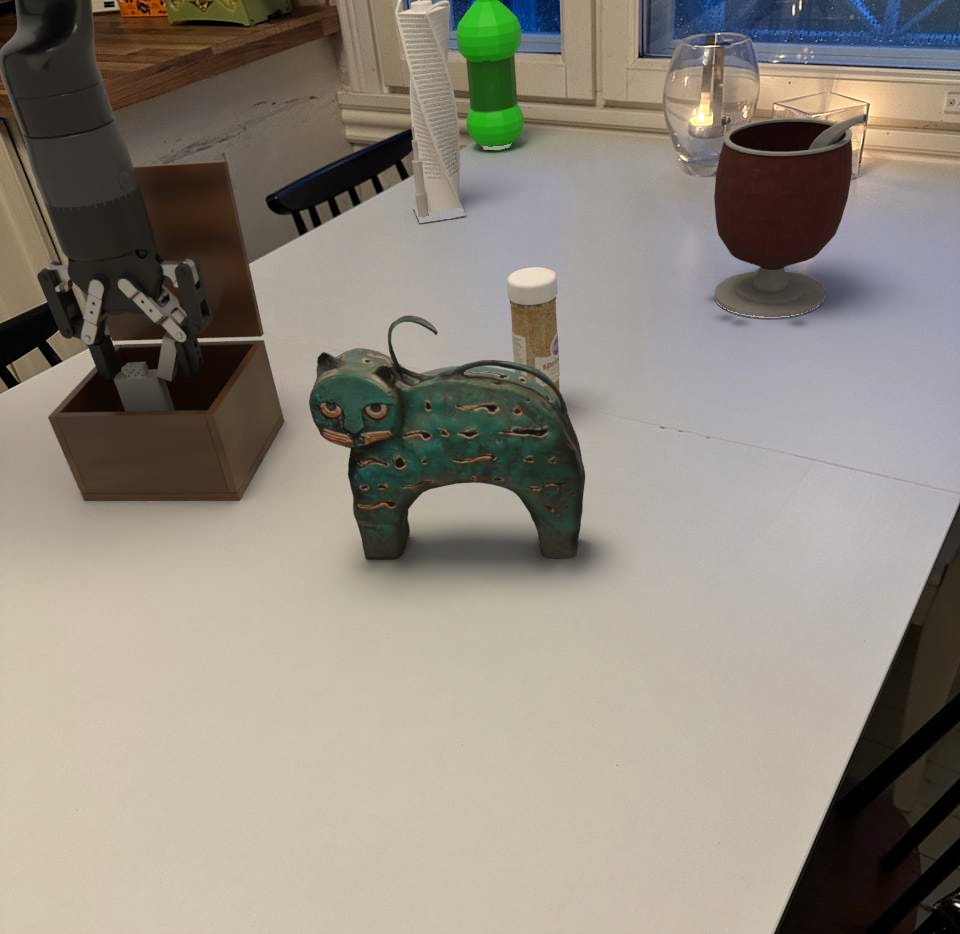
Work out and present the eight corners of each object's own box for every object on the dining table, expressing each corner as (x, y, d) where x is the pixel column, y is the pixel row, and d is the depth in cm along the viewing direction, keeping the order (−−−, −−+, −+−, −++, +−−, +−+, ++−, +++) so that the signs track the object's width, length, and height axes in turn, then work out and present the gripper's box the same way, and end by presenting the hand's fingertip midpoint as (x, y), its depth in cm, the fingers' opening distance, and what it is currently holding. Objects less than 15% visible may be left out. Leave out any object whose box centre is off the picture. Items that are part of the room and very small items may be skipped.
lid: (223, 161, 83) (226, 159, 84) (58, 171, 86) (63, 169, 86) (261, 336, 92) (264, 333, 93) (111, 341, 95) (115, 338, 95)
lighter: (128, 422, 90) (98, 341, 85) (134, 413, 91) (105, 333, 86) (201, 418, 89) (175, 336, 84) (206, 409, 91) (181, 328, 85)
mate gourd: (682, 302, 112) (692, 111, 98) (755, 264, 118) (774, 80, 105) (796, 337, 102) (824, 132, 89) (869, 294, 109) (905, 97, 95)
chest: (239, 500, 88) (213, 414, 82) (83, 500, 91) (47, 417, 85) (284, 420, 99) (264, 339, 93) (143, 423, 101) (115, 344, 95)
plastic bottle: (459, 156, 164) (442, -19, 148) (479, 138, 172) (465, -30, 155) (515, 156, 161) (504, -23, 145) (533, 137, 169) (524, -34, 152)
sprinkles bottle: (561, 419, 94) (555, 283, 85) (514, 420, 94) (504, 286, 85) (562, 396, 97) (557, 263, 88) (517, 398, 98) (508, 266, 89)
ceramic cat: (342, 567, 79) (288, 335, 66) (360, 522, 84) (313, 297, 70) (584, 570, 76) (578, 327, 62) (588, 523, 80) (584, 287, 67)
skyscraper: (411, 206, 146) (383, -12, 128) (463, 198, 147) (443, -20, 129) (419, 224, 140) (390, -4, 122) (473, 215, 141) (452, -12, 122)
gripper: (190, 168, 78) (241, 357, 89) (30, 177, 81) (99, 360, 92) (155, 198, 73) (214, 395, 84) (-15, 207, 75) (63, 398, 86)
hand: (153, 377), depth 88 cm, fingers closed on lighter, 7 cm apart
